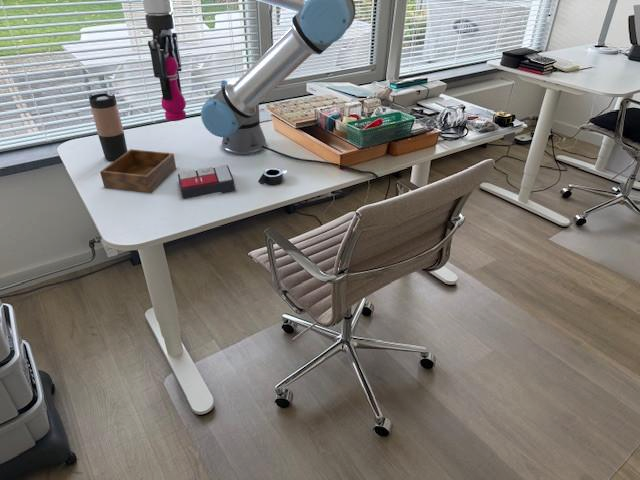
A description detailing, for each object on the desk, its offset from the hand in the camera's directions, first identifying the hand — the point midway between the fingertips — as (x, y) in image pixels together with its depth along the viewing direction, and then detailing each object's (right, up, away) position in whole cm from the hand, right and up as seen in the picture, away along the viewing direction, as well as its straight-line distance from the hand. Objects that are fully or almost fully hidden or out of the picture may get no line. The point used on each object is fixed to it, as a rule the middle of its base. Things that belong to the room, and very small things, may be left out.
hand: (172, 96), depth 141 cm
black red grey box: (+12, -29, -6) cm, 32 cm away
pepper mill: (0, -6, +4) cm, 7 cm away
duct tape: (+31, -27, -2) cm, 41 cm away
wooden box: (-9, -25, -2) cm, 27 cm away
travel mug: (-22, -17, +11) cm, 30 cm away
